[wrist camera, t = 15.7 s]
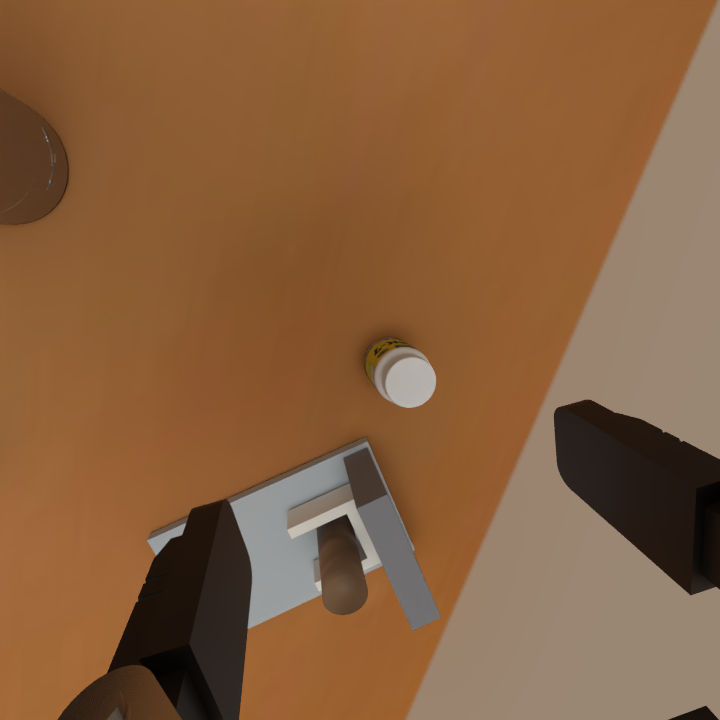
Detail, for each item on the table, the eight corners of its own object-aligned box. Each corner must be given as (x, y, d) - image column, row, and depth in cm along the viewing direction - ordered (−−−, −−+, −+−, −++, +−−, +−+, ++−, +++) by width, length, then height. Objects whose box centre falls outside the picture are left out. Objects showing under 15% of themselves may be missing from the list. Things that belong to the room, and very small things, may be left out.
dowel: (315, 542, 41) (321, 616, 32) (316, 510, 40) (322, 577, 31) (351, 540, 41) (366, 612, 33) (352, 508, 41) (368, 573, 32)
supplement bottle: (408, 332, 39) (437, 346, 31) (416, 379, 40) (446, 405, 32) (358, 342, 39) (375, 360, 31) (367, 390, 40) (386, 419, 32)
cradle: (317, 569, 41) (319, 591, 38) (287, 511, 39) (287, 529, 36) (380, 540, 41) (386, 559, 38) (353, 481, 40) (357, 497, 37)
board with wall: (214, 635, 42) (189, 744, 32) (151, 532, 39) (102, 618, 29) (411, 542, 44) (446, 620, 34) (365, 436, 41) (388, 487, 31)
